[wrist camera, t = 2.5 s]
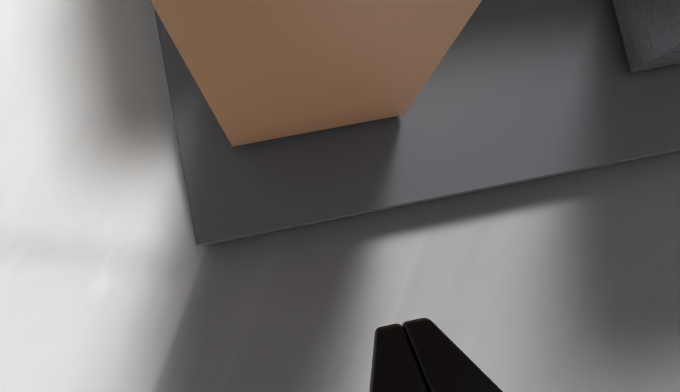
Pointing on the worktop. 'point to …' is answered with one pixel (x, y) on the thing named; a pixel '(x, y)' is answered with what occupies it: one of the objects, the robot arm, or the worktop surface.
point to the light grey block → (649, 32)
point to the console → (440, 125)
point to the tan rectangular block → (310, 58)
